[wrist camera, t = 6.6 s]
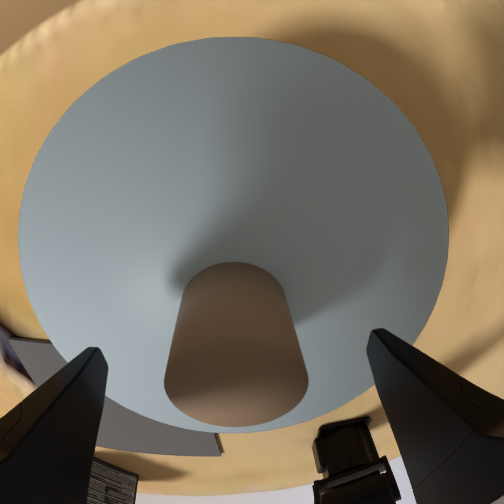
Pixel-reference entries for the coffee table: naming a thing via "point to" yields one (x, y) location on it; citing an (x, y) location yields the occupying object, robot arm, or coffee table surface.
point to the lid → (232, 232)
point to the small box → (111, 484)
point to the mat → (119, 413)
